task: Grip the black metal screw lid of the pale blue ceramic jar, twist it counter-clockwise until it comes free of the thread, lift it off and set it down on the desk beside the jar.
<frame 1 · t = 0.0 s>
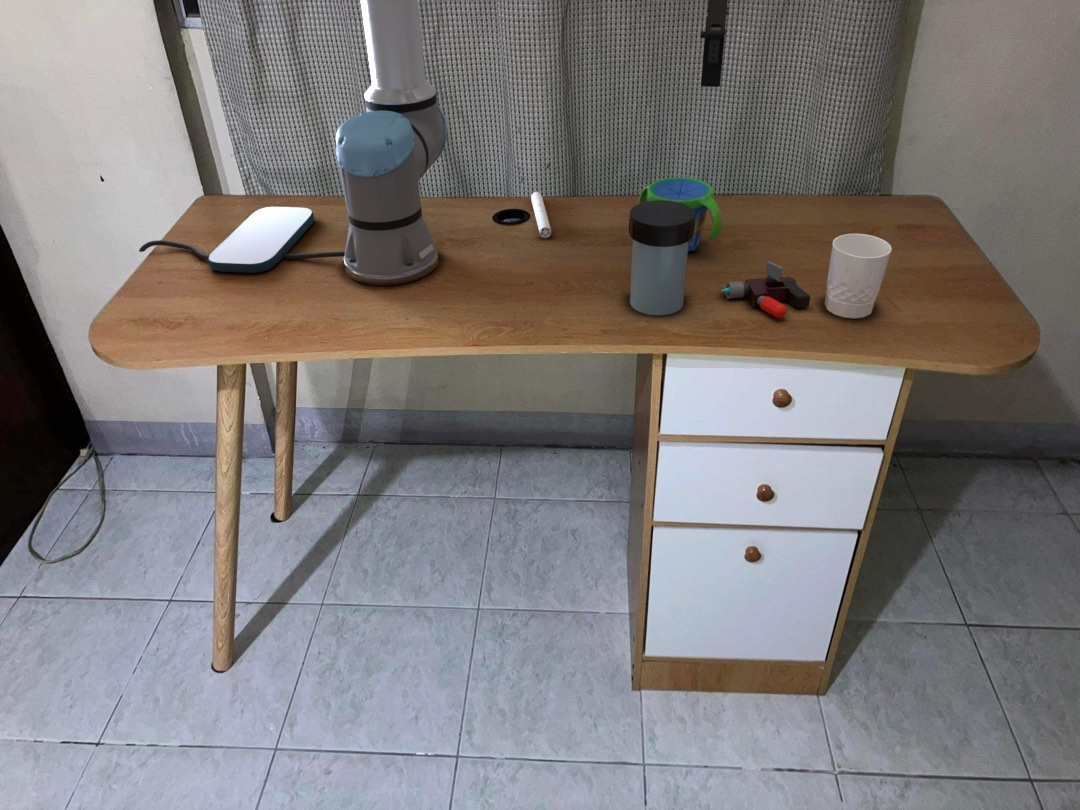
hand: (710, 73, 124), 28 cm above the table, tool pointing down, fingers open, 13 cm apart
lid: (662, 216, 117), point 14 cm above the table, screwed on, not yet turned
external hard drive: (265, 245, 146), on the table
toy gun: (764, 306, 124), on the table
jar: (656, 302, 125), on the table
marker: (540, 218, 152), on the table
white cup: (848, 308, 123), on the table
snack cup: (675, 246, 141), on the table
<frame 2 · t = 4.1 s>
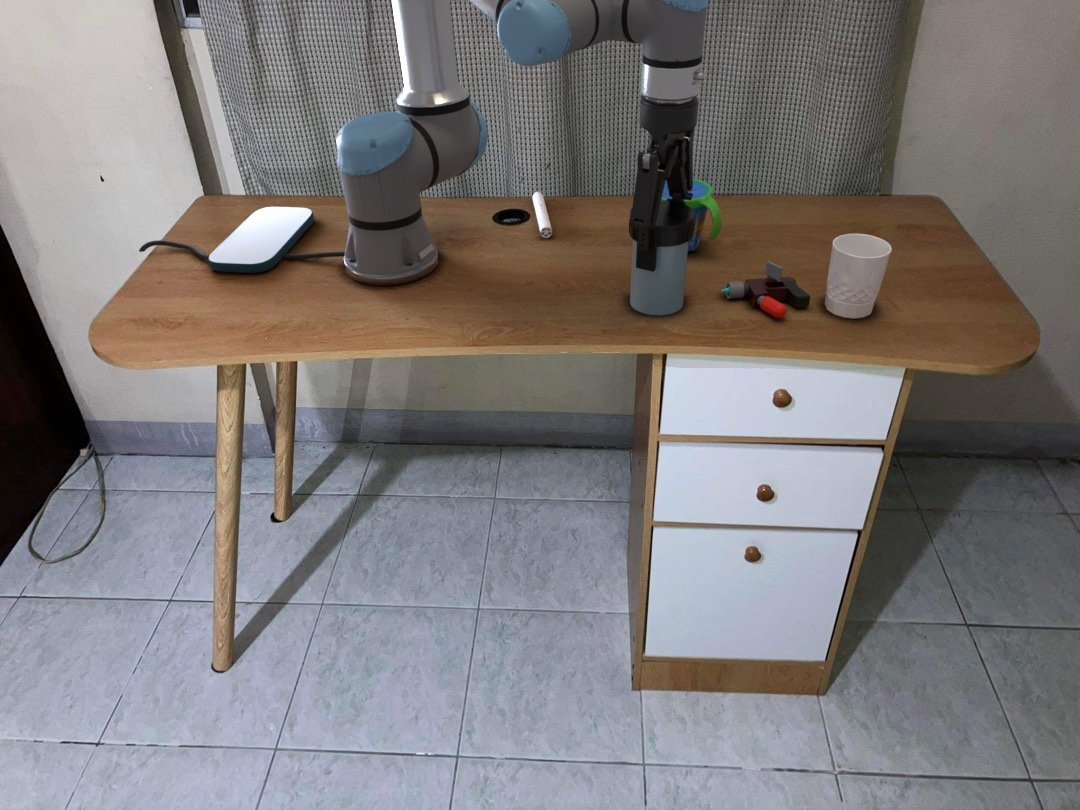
hand: (659, 255, 121), 8 cm above the table, tool pointing down, fingers closed on lid, 9 cm apart
lid: (662, 216, 117), point 14 cm above the table, screwed on, not yet turned, touching gripper
everything else where it was.
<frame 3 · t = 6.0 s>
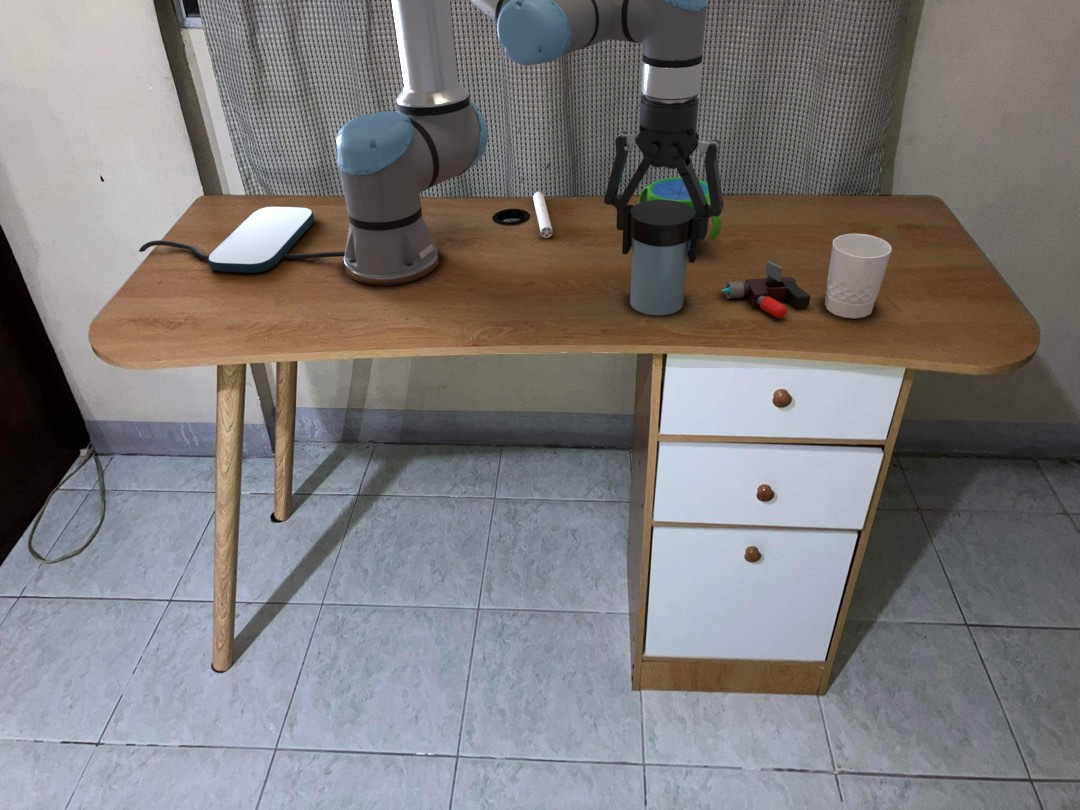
hand: (659, 254, 121), 8 cm above the table, tool pointing down, fingers closed on lid, 9 cm apart
lid: (662, 216, 117), point 14 cm above the table, turned 101° so far, risen 0.1 cm, still on its thread, touching gripper
everything else where it was.
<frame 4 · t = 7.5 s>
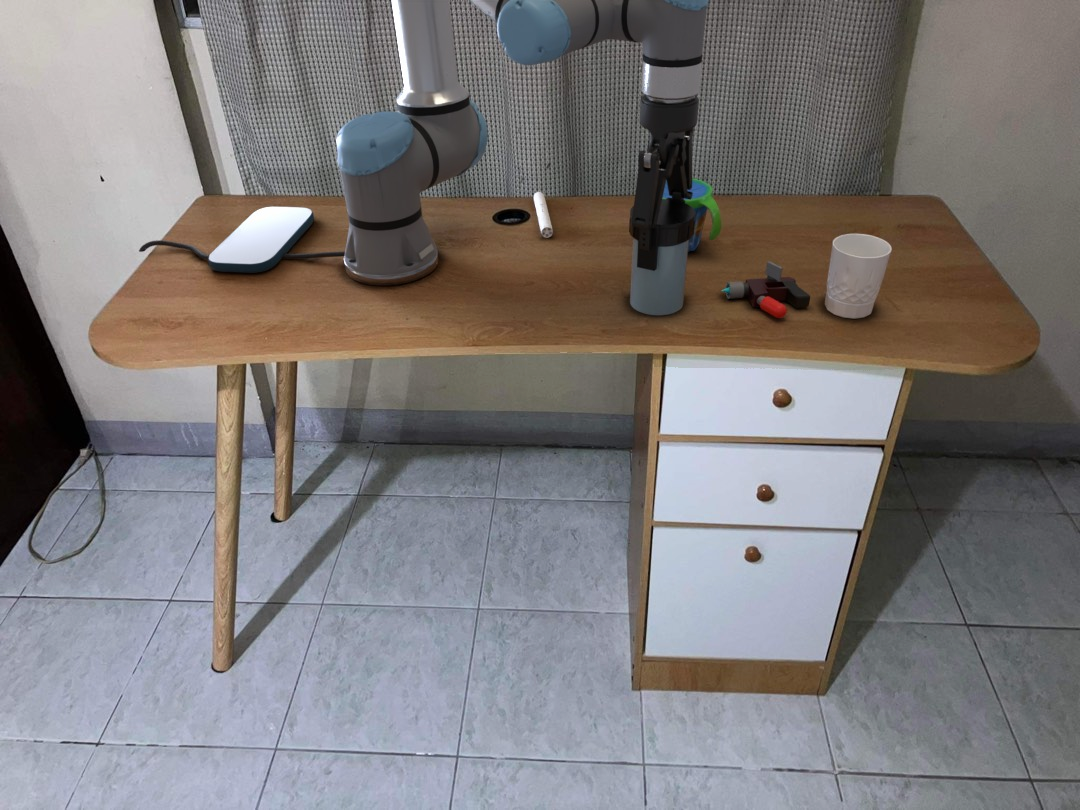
hand: (660, 254, 121), 8 cm above the table, tool pointing down, fingers closed on lid, 9 cm apart
lid: (662, 215, 117), point 14 cm above the table, off its thread, touching gripper
everything else where it was.
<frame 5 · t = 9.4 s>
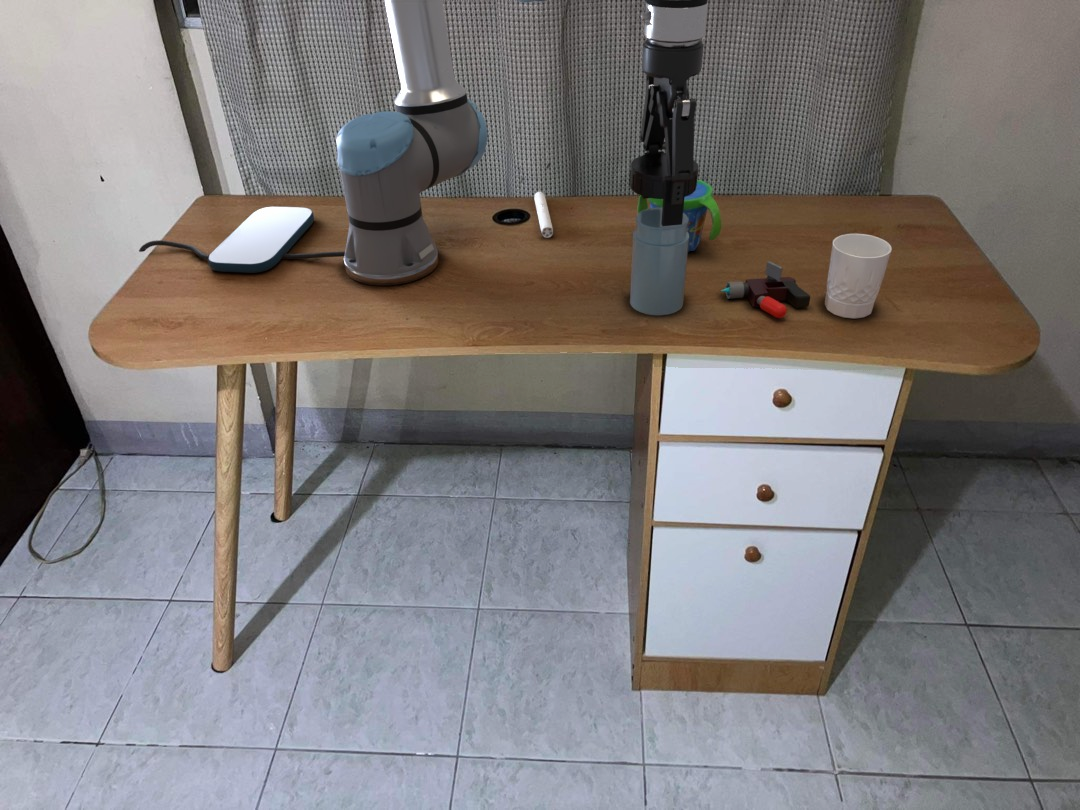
hand: (661, 210, 117), 15 cm above the table, tool pointing down, fingers closed on lid, 9 cm apart
lid: (664, 169, 113), point 21 cm above the table, off its thread, touching gripper
everything else where it was.
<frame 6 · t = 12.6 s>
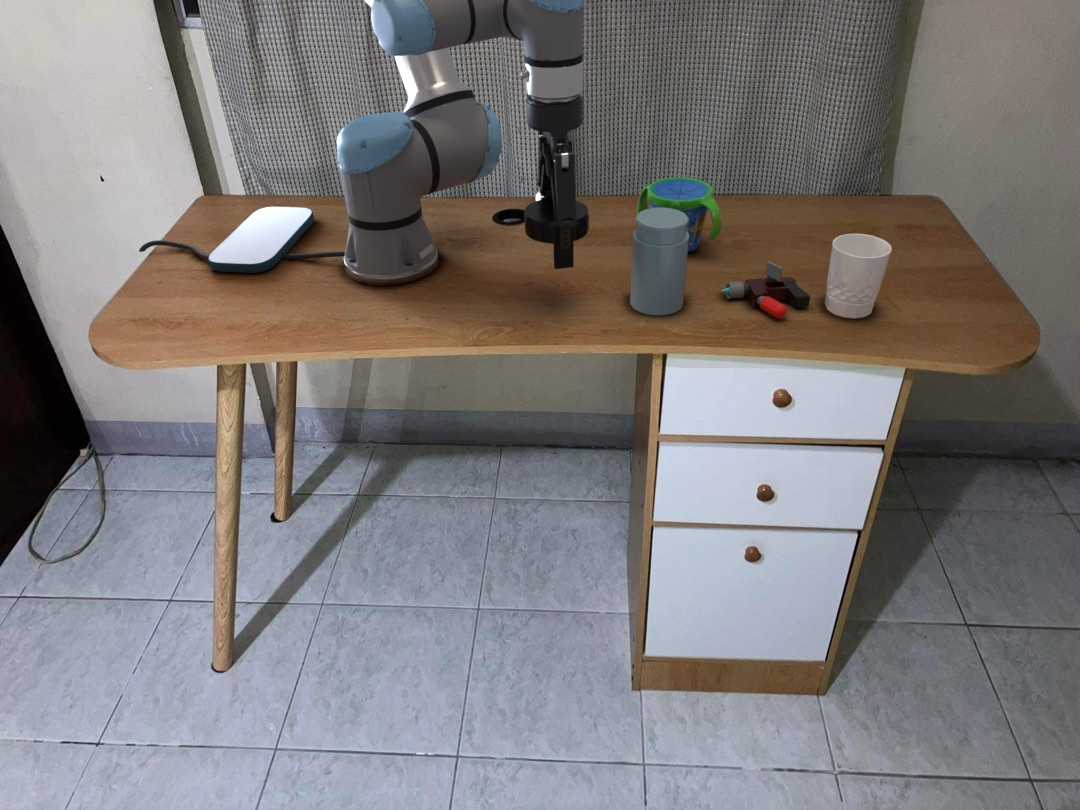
hand: (557, 252, 122), 8 cm above the table, tool pointing down, fingers closed on lid, 9 cm apart
lid: (556, 214, 119), point 14 cm above the table, off its thread, touching gripper
everything else where it was.
when the fingers open (0 cm above the table, at t = 15.1 s): lid drops 3 cm, point 2 cm above the table.
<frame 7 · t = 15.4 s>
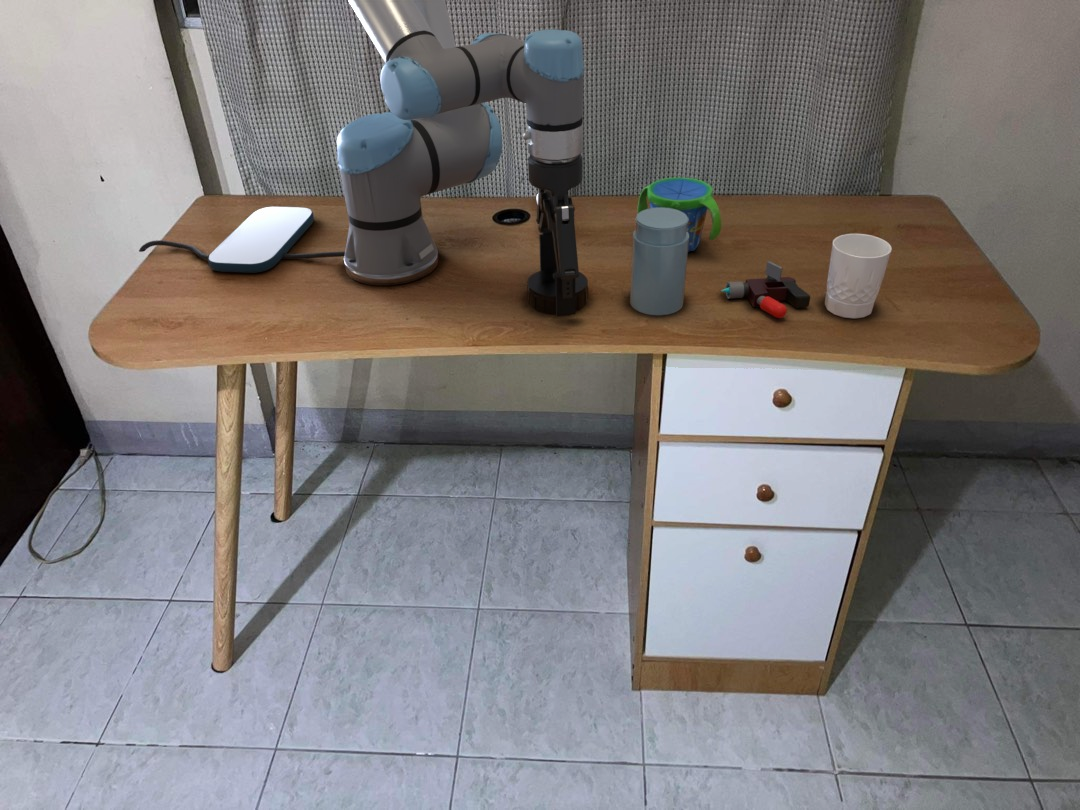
hand: (557, 292, 126), 1 cm above the table, tool pointing down, fingers open, 13 cm apart
lid: (557, 285, 125), point 2 cm above the table, off its thread
everything else where it was.
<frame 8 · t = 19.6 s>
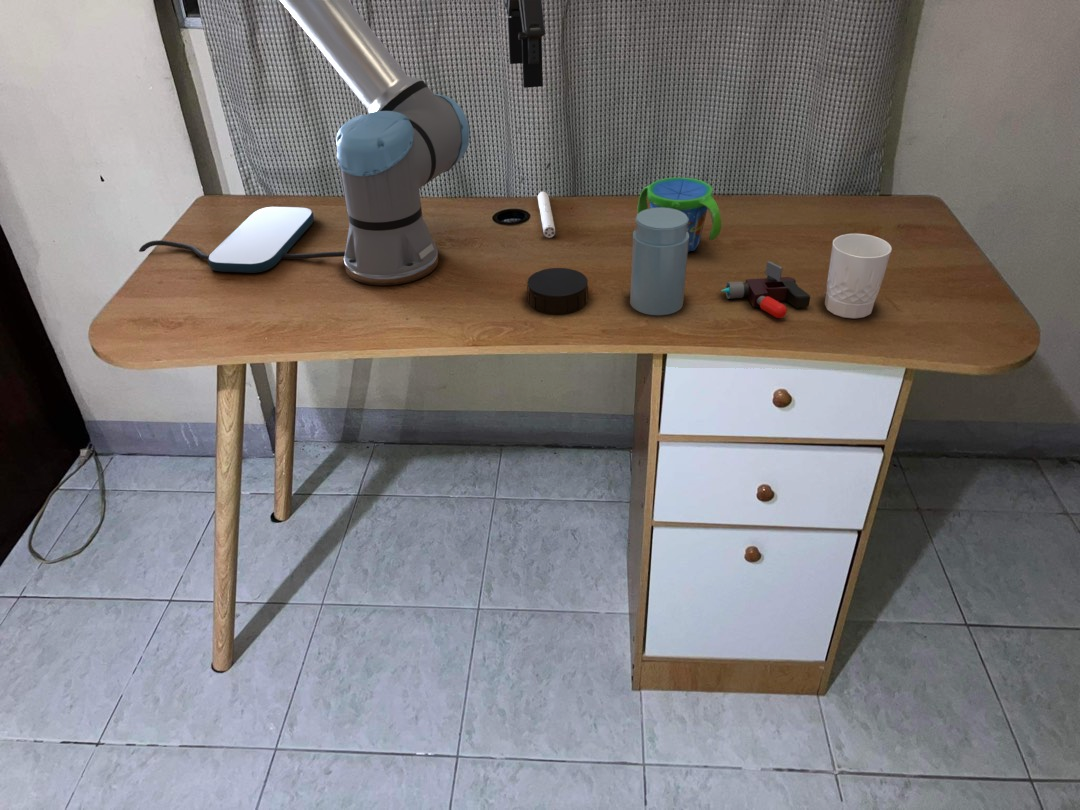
hand: (525, 74, 124), 29 cm above the table, tool pointing down, fingers open, 13 cm apart
at the end: lid inside the target area (0.1 cm from its centre), point 2.5 cm above the table; the gripper is holding nothing; jar tilted 0° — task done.
